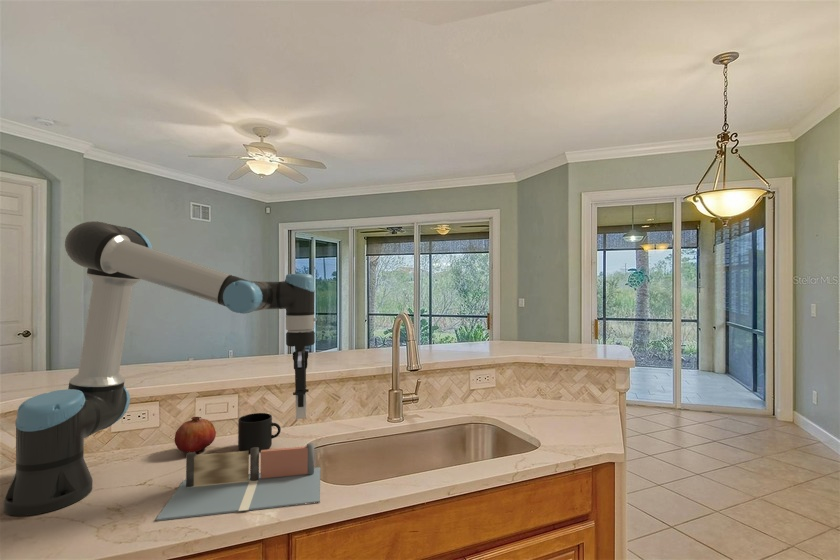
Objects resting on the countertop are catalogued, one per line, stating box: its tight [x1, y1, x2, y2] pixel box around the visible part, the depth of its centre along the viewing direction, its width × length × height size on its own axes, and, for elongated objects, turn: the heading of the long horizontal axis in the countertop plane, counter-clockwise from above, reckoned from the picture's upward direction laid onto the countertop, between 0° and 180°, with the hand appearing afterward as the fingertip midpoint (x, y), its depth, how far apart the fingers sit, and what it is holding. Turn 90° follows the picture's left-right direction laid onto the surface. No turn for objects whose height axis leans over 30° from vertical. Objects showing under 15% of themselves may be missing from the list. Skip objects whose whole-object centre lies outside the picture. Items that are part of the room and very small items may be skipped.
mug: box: [237, 412, 282, 454], centre depth 127 cm, size 9×12×9 cm
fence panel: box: [260, 442, 315, 478], centre depth 107 cm, size 13×2×7 cm, turn 103°
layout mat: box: [155, 466, 321, 522], centre depth 99 cm, size 33×18×1 cm, turn 103°
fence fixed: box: [185, 447, 260, 487], centre depth 103 cm, size 16×2×8 cm, turn 103°
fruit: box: [174, 416, 217, 453], centre depth 124 cm, size 11×10×10 cm
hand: (301, 417), depth 114 cm, fingers closed
